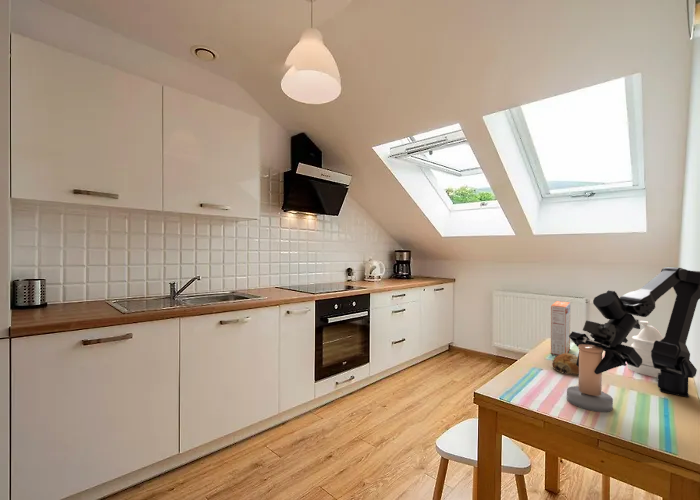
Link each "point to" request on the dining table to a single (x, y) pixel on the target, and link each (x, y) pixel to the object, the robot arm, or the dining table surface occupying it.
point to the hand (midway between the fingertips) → (586, 369)
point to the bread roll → (566, 363)
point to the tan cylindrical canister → (589, 369)
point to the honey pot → (646, 349)
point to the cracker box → (560, 327)
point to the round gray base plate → (590, 400)
